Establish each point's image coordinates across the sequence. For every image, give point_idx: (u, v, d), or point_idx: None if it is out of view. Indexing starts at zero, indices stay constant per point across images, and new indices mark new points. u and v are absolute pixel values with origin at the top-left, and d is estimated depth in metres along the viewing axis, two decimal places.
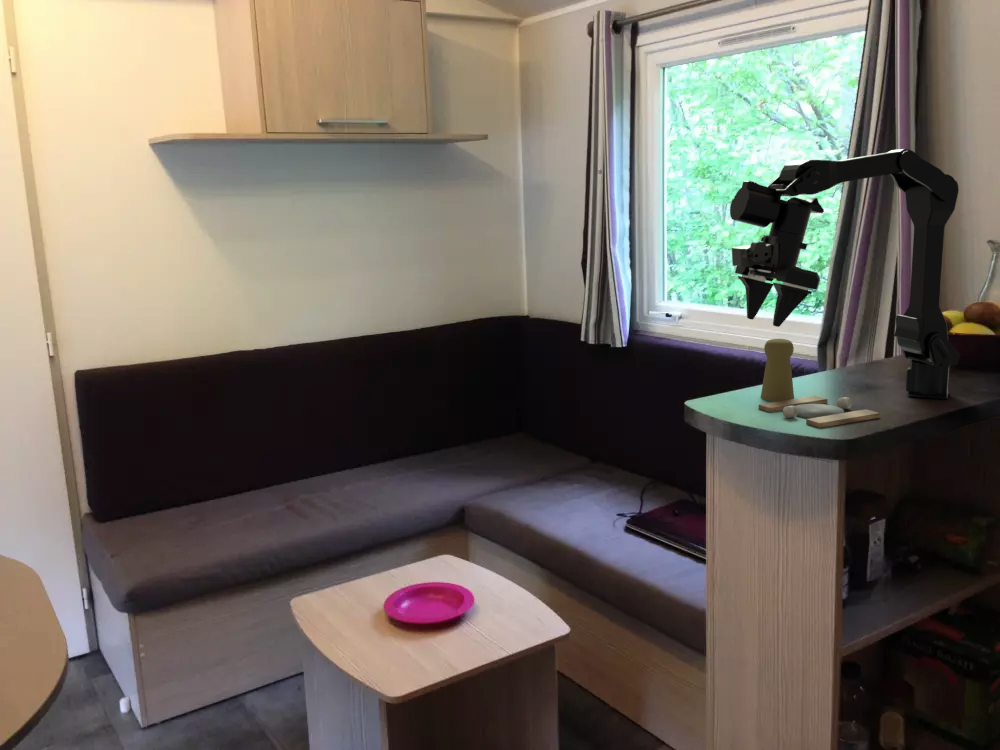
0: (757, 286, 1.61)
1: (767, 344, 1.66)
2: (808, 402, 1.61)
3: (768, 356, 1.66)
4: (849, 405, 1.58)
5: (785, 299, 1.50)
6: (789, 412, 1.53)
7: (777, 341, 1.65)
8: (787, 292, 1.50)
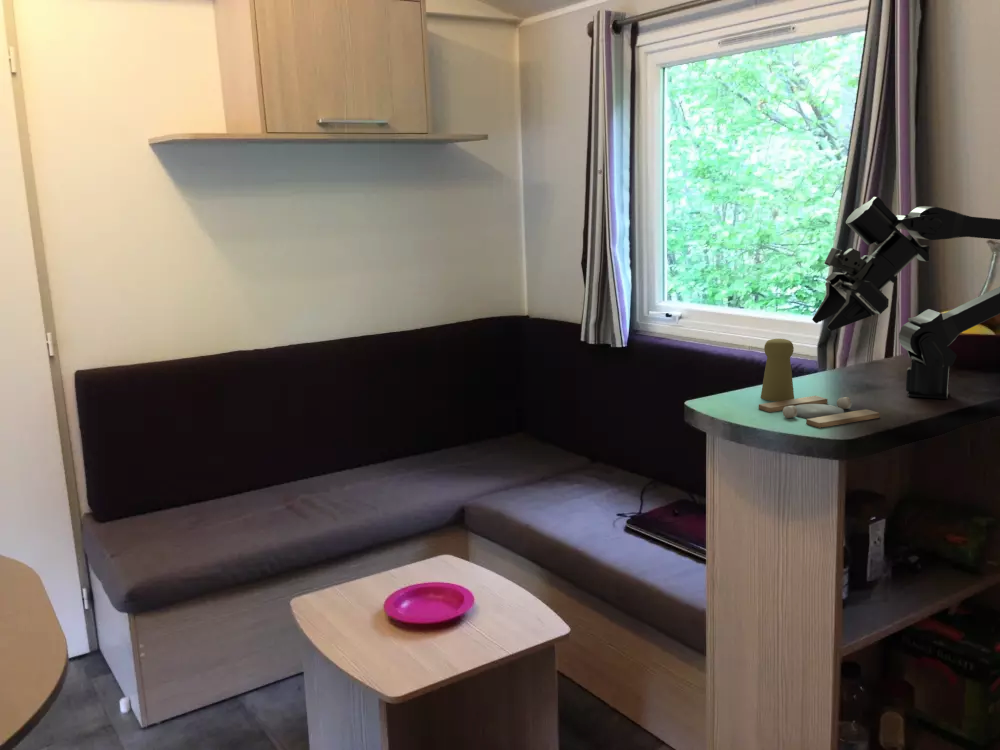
0: (836, 298, 1.69)
1: (767, 344, 1.66)
2: (808, 402, 1.61)
3: (768, 356, 1.66)
4: (849, 405, 1.58)
5: (849, 309, 1.59)
6: (789, 412, 1.53)
7: (777, 341, 1.65)
8: (854, 304, 1.58)
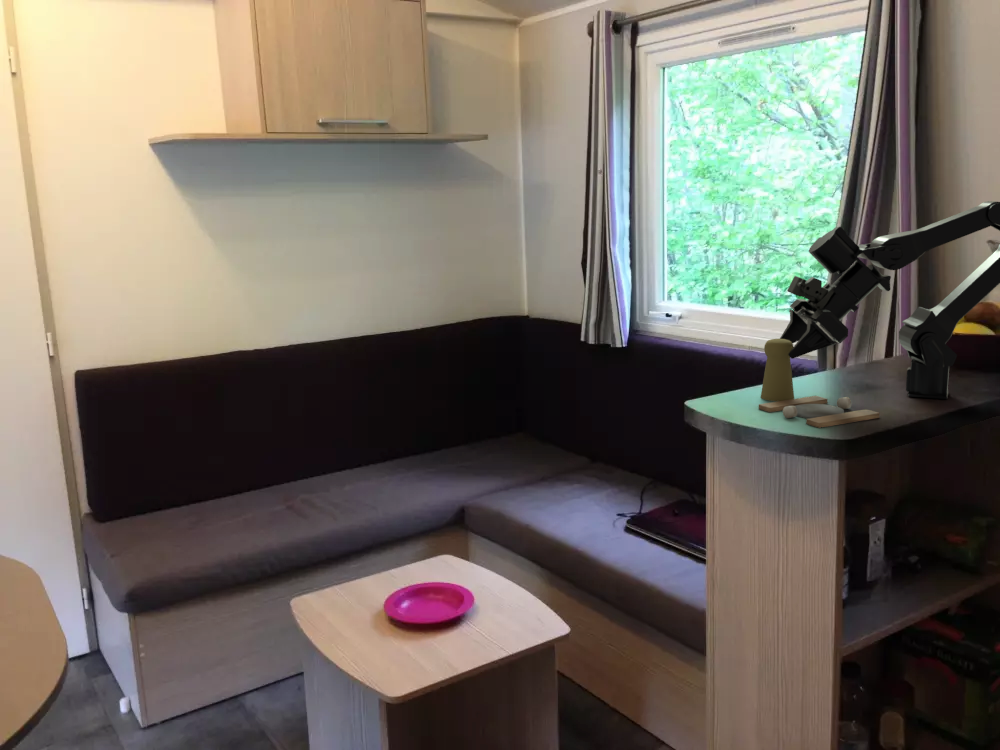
0: (799, 325, 1.70)
1: (767, 344, 1.66)
2: (808, 402, 1.61)
3: (768, 356, 1.66)
4: (849, 405, 1.58)
5: (810, 338, 1.60)
6: (789, 412, 1.53)
7: (777, 341, 1.65)
8: (815, 333, 1.60)
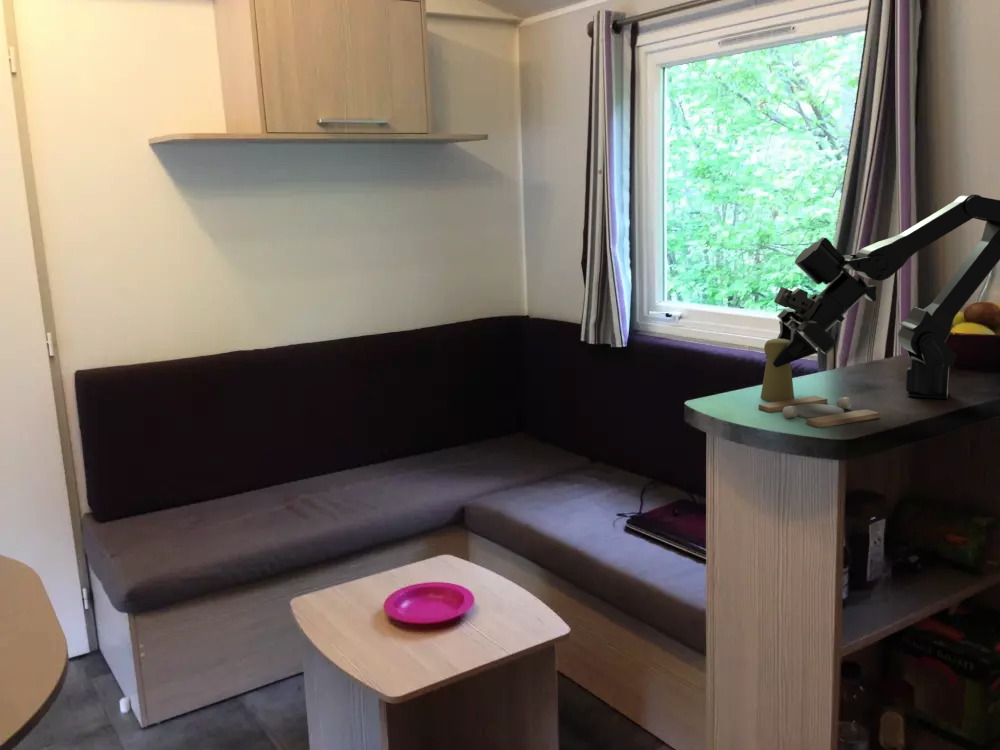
0: (789, 337, 1.69)
1: (767, 344, 1.66)
2: (808, 402, 1.61)
3: (768, 356, 1.66)
4: (849, 405, 1.58)
5: (793, 347, 1.62)
6: (789, 412, 1.53)
7: (777, 341, 1.65)
8: (798, 342, 1.62)
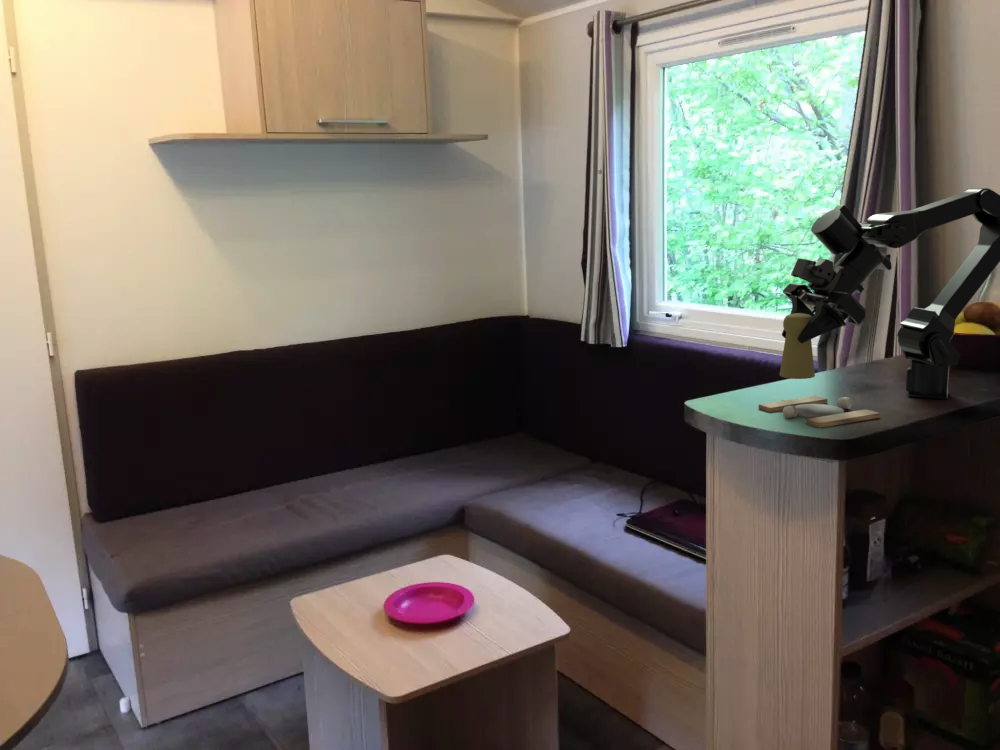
0: (803, 311, 1.61)
1: (788, 319, 1.57)
2: (808, 402, 1.61)
3: (790, 332, 1.58)
4: (849, 405, 1.58)
5: (819, 320, 1.55)
6: (789, 412, 1.53)
7: (799, 316, 1.57)
8: (824, 315, 1.55)
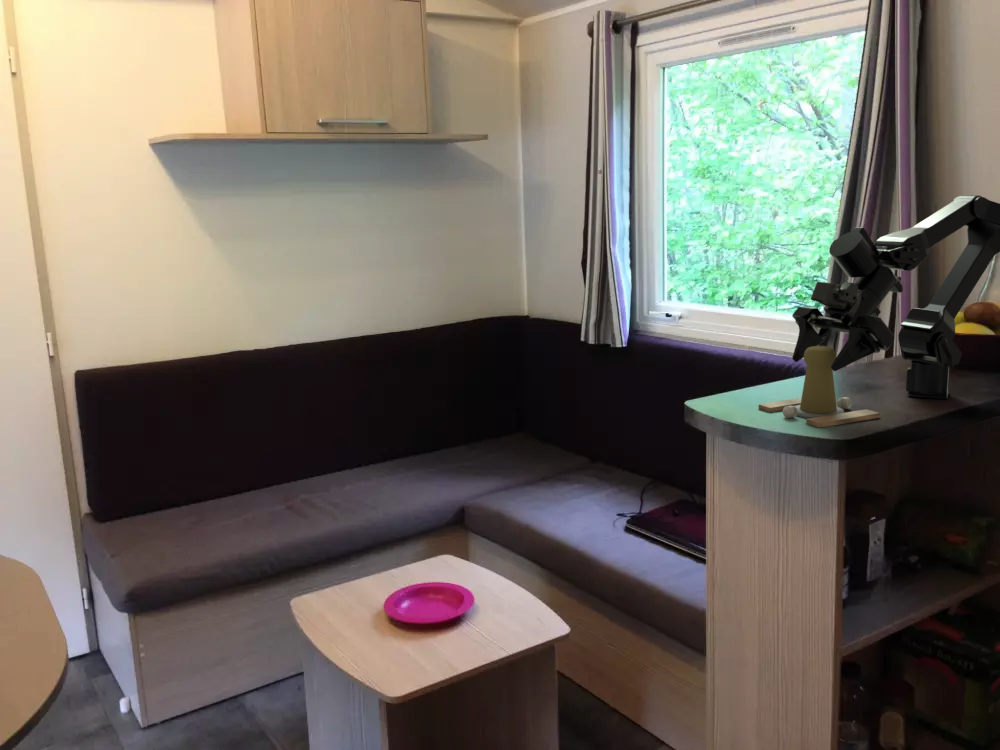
0: (811, 334, 1.59)
1: (812, 352, 1.53)
2: None
3: (813, 365, 1.53)
4: (849, 405, 1.58)
5: (853, 347, 1.49)
6: (789, 412, 1.53)
7: (822, 348, 1.53)
8: (857, 342, 1.49)
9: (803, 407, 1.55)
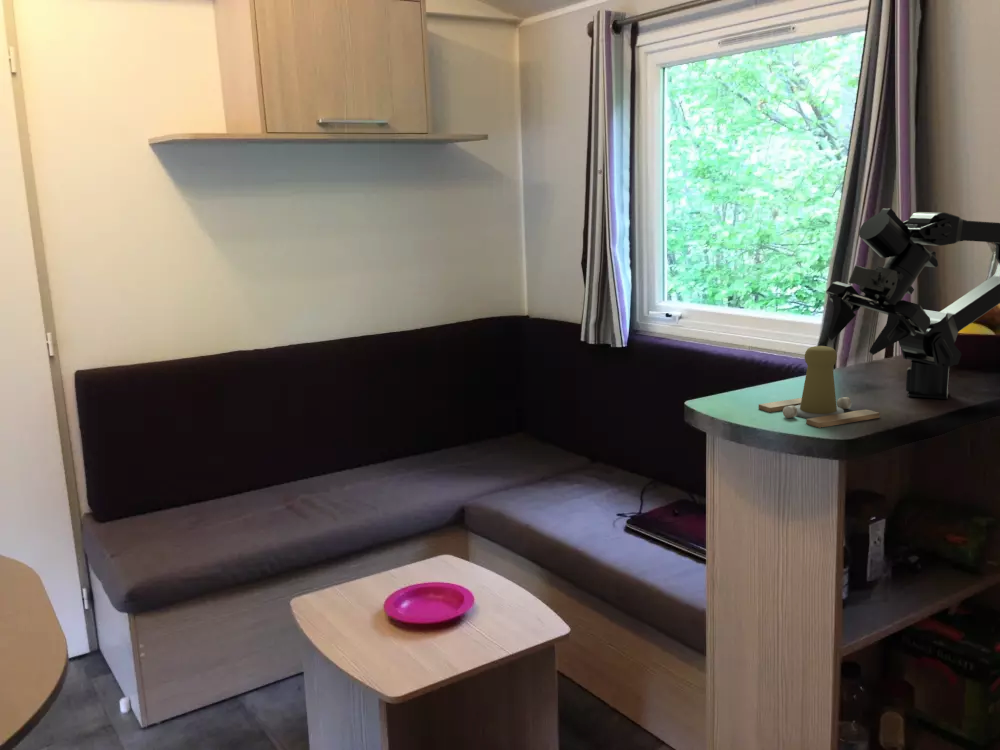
0: (845, 311, 1.63)
1: (813, 353, 1.53)
2: None
3: (814, 366, 1.53)
4: (849, 405, 1.58)
5: (891, 331, 1.54)
6: (789, 412, 1.53)
7: (823, 349, 1.53)
8: None
9: (803, 407, 1.55)
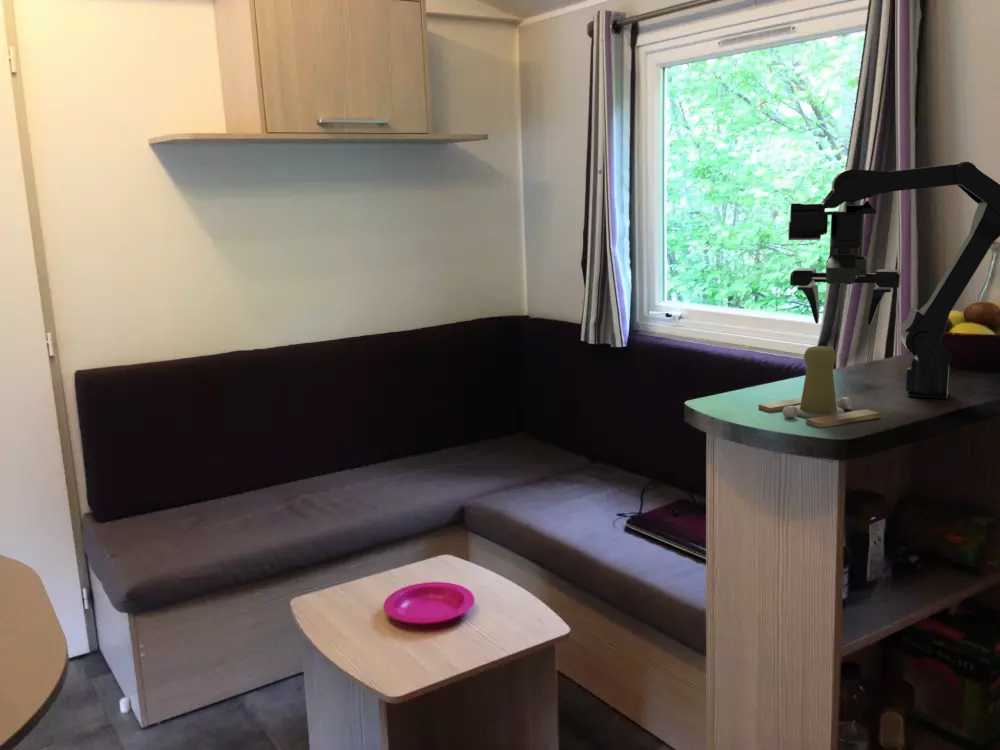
0: (815, 292, 1.69)
1: (812, 353, 1.53)
2: None
3: (813, 366, 1.53)
4: (849, 405, 1.58)
5: None
6: (789, 412, 1.53)
7: (823, 349, 1.53)
8: None
9: (803, 407, 1.55)
